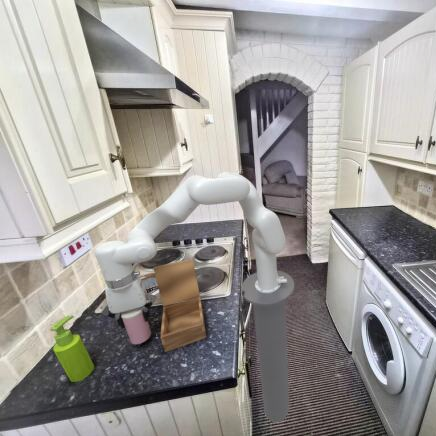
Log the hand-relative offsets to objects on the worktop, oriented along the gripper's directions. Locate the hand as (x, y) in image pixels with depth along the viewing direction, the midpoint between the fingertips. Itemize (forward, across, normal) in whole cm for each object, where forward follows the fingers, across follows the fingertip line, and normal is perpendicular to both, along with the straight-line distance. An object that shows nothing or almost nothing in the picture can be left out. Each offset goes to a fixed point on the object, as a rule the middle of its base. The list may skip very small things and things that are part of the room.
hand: (135, 321), depth 79 cm
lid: (-6, -14, -9) cm, 18 cm away
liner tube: (+7, 0, 0) cm, 7 cm away
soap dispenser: (+10, +16, +4) cm, 19 cm away
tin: (+10, +3, -32) cm, 33 cm away
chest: (+10, -14, 0) cm, 17 cm away
